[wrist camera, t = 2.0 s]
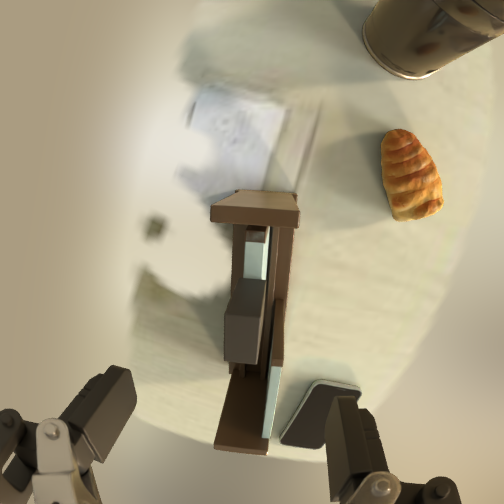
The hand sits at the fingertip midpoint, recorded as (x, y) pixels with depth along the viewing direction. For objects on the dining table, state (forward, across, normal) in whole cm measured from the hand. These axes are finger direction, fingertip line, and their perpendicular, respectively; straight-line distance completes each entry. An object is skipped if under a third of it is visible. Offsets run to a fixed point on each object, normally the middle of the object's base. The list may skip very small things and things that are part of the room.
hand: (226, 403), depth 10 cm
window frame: (+22, 0, +5) cm, 22 cm away
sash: (+19, 0, 0) cm, 19 cm away
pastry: (+22, -15, -9) cm, 28 cm away
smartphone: (+22, -10, +24) cm, 34 cm away
